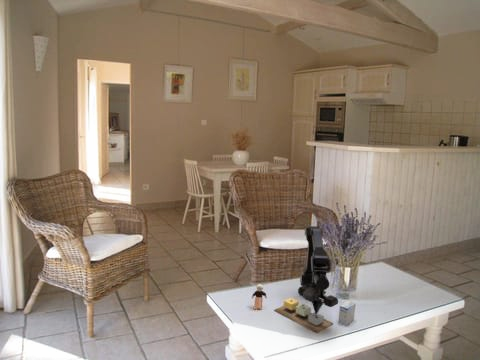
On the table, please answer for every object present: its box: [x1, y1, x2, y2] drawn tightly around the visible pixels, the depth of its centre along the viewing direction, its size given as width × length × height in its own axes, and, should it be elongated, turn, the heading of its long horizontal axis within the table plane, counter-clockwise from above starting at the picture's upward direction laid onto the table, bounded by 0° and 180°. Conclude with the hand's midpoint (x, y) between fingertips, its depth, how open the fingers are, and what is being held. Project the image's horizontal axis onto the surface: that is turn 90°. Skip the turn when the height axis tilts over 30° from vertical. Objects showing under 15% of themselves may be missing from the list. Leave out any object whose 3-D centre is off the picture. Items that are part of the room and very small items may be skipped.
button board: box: [273, 305, 334, 334], centre depth 191 cm, size 12×26×1 cm, turn 43°
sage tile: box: [296, 303, 312, 316], centre depth 191 cm, size 5×5×3 cm
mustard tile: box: [283, 297, 300, 310], centre depth 196 cm, size 5×5×3 cm
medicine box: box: [337, 300, 356, 327], centre depth 188 cm, size 8×4×9 cm, turn 141°
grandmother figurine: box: [251, 283, 268, 311], centre depth 198 cm, size 8×4×13 cm, turn 105°
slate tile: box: [308, 311, 325, 325], centre depth 186 cm, size 5×5×3 cm
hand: (316, 312), depth 185 cm, fingers closed
